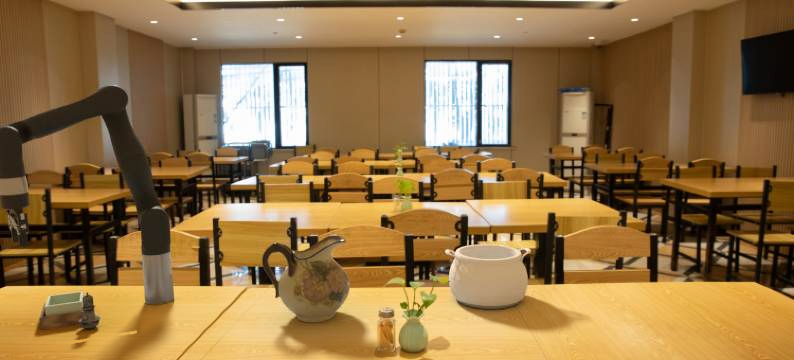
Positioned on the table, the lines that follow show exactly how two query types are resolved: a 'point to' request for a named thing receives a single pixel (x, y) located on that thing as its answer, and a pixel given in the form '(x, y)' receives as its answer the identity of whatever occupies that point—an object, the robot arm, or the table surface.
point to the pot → (488, 276)
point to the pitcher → (310, 280)
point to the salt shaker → (89, 313)
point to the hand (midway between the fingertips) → (20, 244)
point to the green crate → (64, 303)
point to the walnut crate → (59, 319)
